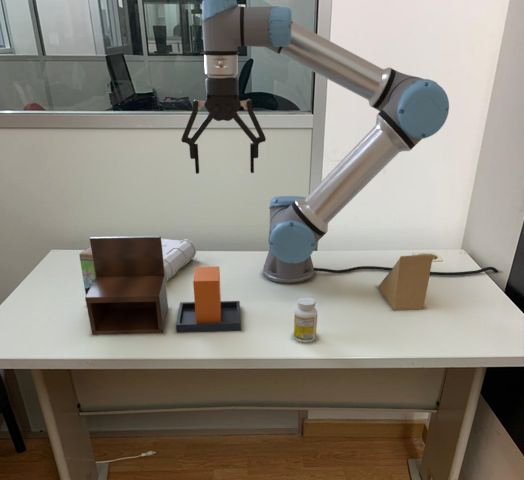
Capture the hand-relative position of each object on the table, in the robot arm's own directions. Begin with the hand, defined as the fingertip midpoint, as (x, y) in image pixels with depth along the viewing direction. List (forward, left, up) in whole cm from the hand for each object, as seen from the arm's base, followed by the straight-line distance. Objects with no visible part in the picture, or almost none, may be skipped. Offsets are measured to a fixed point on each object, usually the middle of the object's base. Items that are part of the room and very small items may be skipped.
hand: (224, 172), depth 132 cm
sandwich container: (-47, +6, -33) cm, 58 cm away
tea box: (+31, +1, -33) cm, 45 cm away
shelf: (+24, +17, -33) cm, 44 cm away
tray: (+5, +17, -33) cm, 37 cm away
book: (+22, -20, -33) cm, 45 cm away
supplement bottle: (-18, +27, -33) cm, 46 cm away
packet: (+5, +17, -32) cm, 36 cm away
